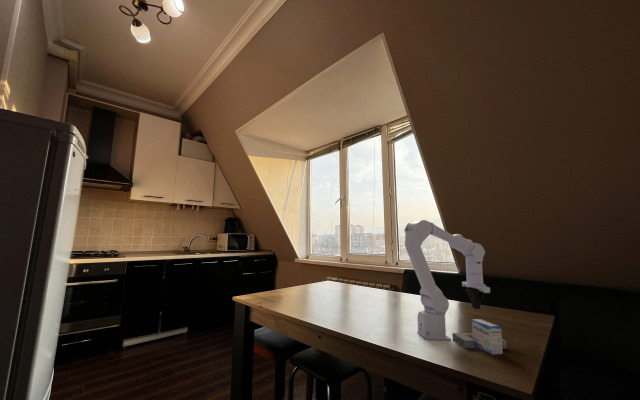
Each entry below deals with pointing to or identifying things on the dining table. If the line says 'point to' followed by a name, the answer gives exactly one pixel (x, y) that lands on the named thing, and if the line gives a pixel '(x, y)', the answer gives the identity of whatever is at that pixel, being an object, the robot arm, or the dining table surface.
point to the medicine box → (487, 336)
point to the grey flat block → (469, 340)
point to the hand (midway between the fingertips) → (476, 308)
